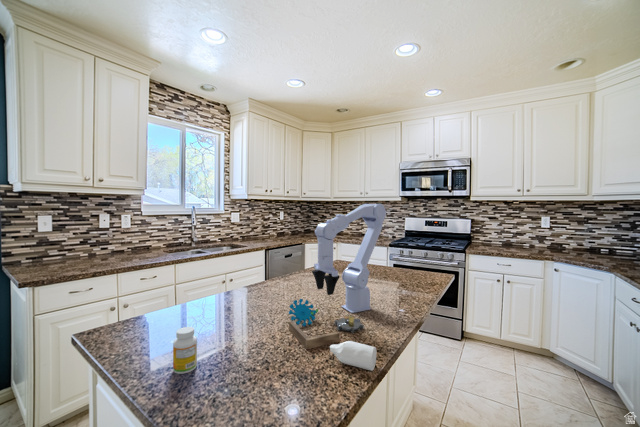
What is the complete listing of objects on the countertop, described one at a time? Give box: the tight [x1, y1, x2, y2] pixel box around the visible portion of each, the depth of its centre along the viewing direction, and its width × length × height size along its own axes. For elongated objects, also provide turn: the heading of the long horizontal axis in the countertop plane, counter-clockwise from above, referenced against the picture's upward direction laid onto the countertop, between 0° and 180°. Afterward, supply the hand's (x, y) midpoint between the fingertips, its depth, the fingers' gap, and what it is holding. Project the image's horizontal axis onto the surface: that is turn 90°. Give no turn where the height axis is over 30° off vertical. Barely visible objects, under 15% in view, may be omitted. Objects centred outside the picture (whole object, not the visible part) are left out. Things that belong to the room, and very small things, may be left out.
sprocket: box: [334, 315, 365, 334], centre depth 95 cm, size 10×9×4 cm
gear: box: [288, 298, 319, 327], centre depth 100 cm, size 11×6×10 cm
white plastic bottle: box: [329, 340, 377, 372], centre depth 73 cm, size 6×12×6 cm, turn 65°
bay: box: [288, 320, 341, 350], centre depth 89 cm, size 11×14×3 cm
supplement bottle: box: [172, 326, 198, 375], centre depth 70 cm, size 5×5×10 cm
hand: (325, 291), depth 104 cm, fingers open, 7 cm apart
